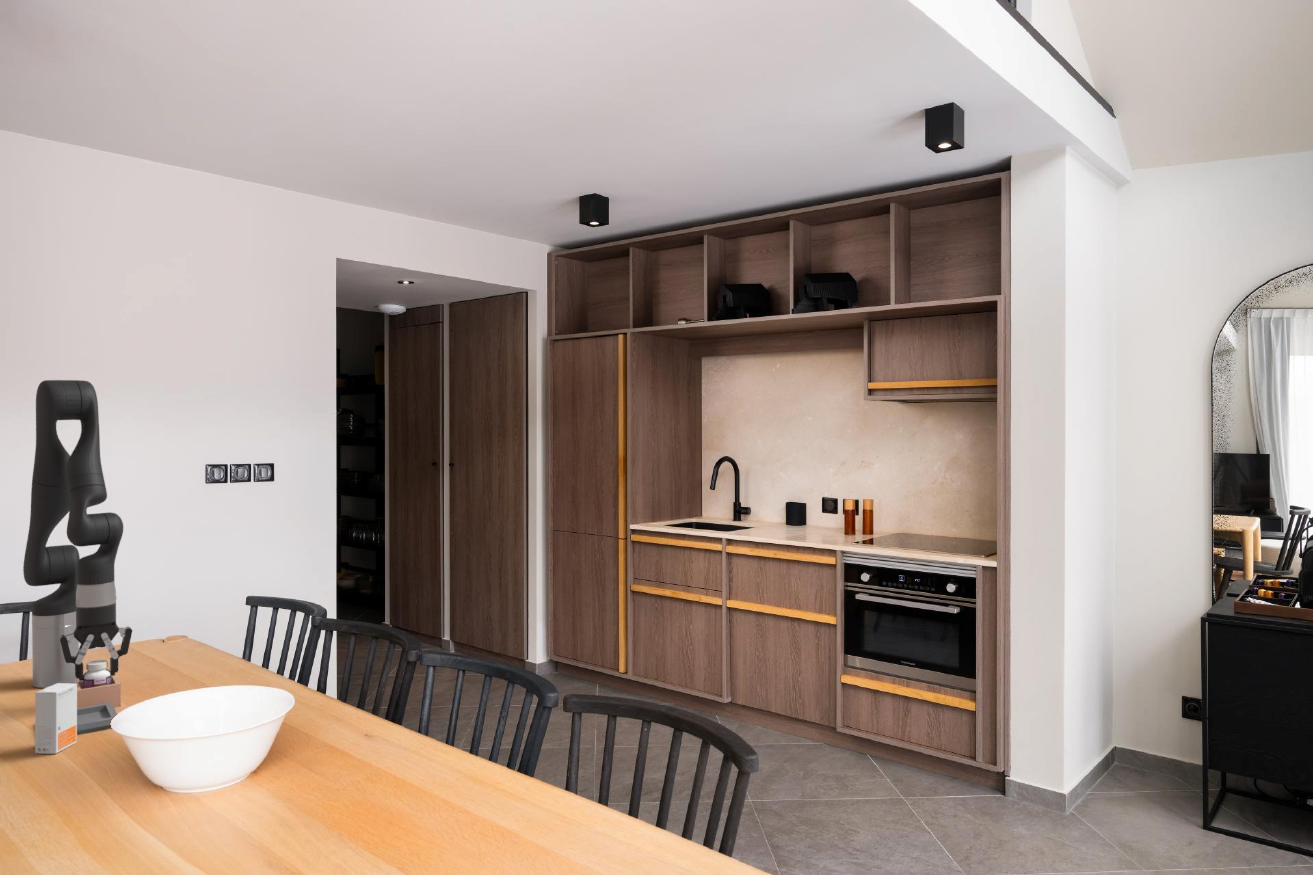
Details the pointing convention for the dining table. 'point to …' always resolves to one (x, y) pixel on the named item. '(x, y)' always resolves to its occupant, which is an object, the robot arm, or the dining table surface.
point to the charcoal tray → (95, 718)
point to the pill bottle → (96, 674)
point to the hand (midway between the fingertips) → (96, 676)
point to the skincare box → (55, 718)
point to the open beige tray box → (99, 694)
